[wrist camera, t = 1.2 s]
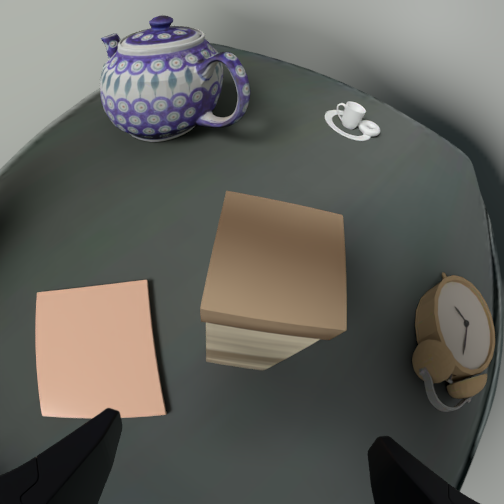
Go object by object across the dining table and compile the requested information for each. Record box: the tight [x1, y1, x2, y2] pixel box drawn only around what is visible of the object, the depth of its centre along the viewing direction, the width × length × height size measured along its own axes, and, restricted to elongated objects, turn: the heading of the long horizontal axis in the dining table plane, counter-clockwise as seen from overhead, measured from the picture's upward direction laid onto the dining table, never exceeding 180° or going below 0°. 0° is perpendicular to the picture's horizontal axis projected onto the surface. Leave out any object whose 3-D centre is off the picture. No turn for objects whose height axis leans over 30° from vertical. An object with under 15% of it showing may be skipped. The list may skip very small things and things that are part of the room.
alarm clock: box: [412, 273, 495, 412], centre depth 23 cm, size 11×5×15 cm
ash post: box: [200, 191, 347, 370], centre depth 16 cm, size 5×5×14 cm
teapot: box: [100, 16, 250, 142], centre depth 28 cm, size 25×15×15 cm, turn 53°
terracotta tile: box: [36, 280, 167, 418], centre depth 19 cm, size 11×11×1 cm
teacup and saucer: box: [325, 102, 380, 141], centre depth 38 cm, size 9×8×4 cm
